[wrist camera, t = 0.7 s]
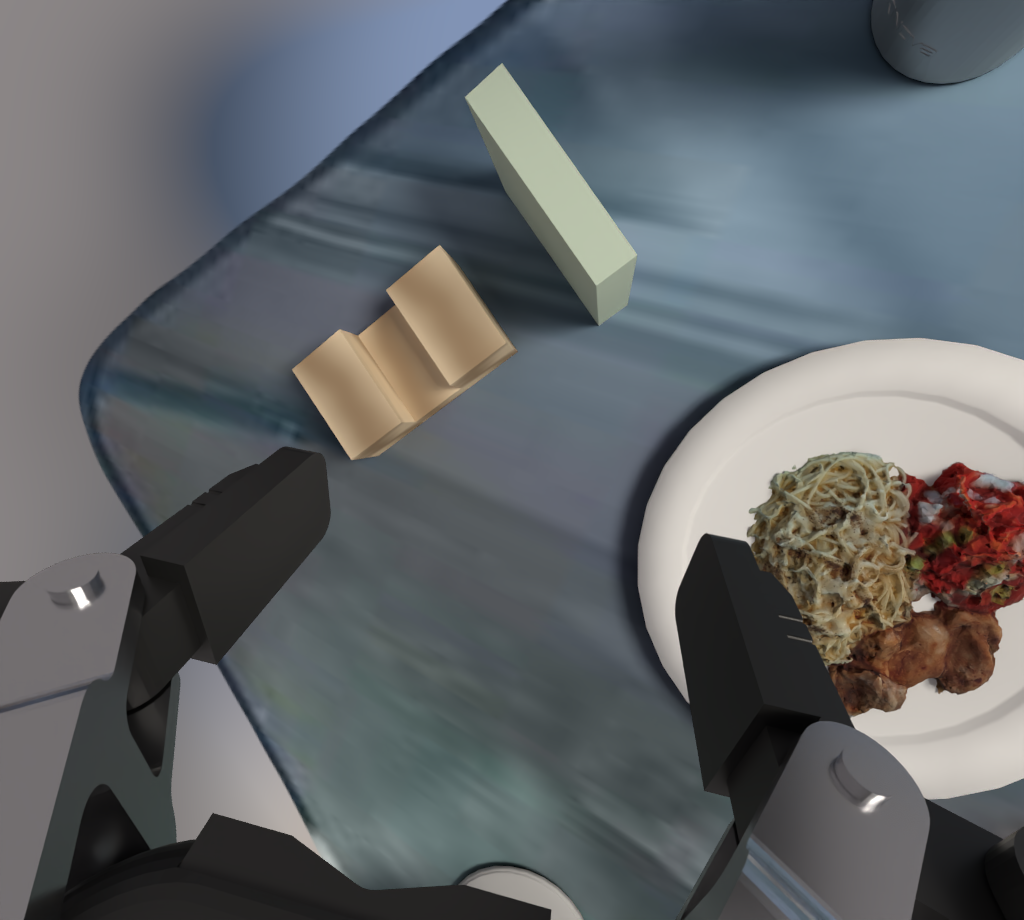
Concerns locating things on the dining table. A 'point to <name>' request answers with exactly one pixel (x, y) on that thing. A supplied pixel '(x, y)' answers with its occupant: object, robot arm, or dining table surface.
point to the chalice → (524, 889)
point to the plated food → (874, 539)
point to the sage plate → (553, 196)
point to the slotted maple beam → (405, 358)
